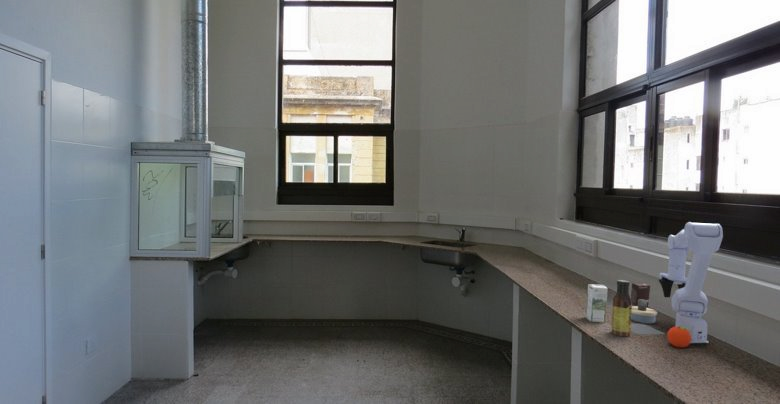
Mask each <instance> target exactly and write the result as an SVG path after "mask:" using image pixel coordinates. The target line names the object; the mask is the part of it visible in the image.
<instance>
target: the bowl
mask: <svg viewBox="0 0 780 404" xmlns="http://www.w3.org/2000/svg"><path fill="white" fill-rule="evenodd" d="M656 318H657V315H656V316H643V315H637V314H633V313H632V314H631V321H633V322H637V323H640V324H655V323H656Z"/></svg>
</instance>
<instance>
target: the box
mask: <svg viewBox="0 0 780 404" xmlns="http://www.w3.org/2000/svg"><path fill="white" fill-rule="evenodd" d="M650 290H651V285H650V284H647V283H644V282H643V283H639V282H637V283H636V282H635V283H634V282H633V283H631V291H630V292H631V293H630V299H631V302H632V306H638V300H639V299H643V300H647V307H646V308H649V303H650V301H649V299H650V294H651V293H650Z"/></svg>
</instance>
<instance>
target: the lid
mask: <svg viewBox="0 0 780 404" xmlns="http://www.w3.org/2000/svg"><path fill="white" fill-rule="evenodd" d="M646 307H647V300H643V299H639V300H638V306H632V313H633V314H637V315H643V316H656V317H657V315H658V311H657V310H655V309H652V308H649V307H648V308H646Z"/></svg>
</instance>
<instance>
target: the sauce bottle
mask: <svg viewBox="0 0 780 404" xmlns="http://www.w3.org/2000/svg"><path fill="white" fill-rule="evenodd" d="M616 285H617V286H616V294H615V295H614V296H613V298H612V309H611V310H612V311H611V312H612V313H611V333H612V334H613V335H614V336H615V335H616V336H619V337H624V338H627V337H630V335H631V333H632V332H631V324H632V320H631V314H632V302H631V295H630V292H629V290H630V288H629V287H630V281H628V280H627V279H626V280H625V279H617V280H616Z"/></svg>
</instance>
